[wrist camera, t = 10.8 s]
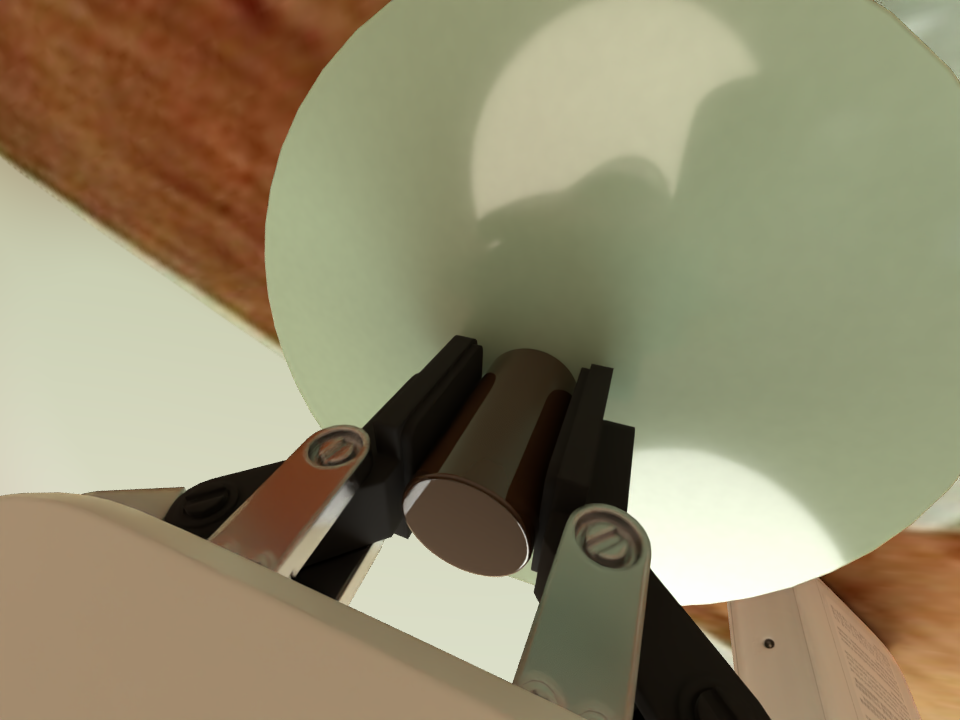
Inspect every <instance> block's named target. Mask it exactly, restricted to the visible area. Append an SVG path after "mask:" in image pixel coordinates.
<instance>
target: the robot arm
mask: <svg viewBox="0 0 960 720" xmlns="http://www.w3.org/2000/svg"><path fill="white" fill-rule="evenodd" d="M482 366H483V347H482V345H478V343H477V340H476V339H474V338H469V337H465V336H460V335H455V336H454V337H453V338H452V339H451V340H450V341H449V342H448V343H447V344H446V345H445V346H444V347H443V348H442V349H441V351H440V352H439V353H438V354H437V355H436V356H435V357H434V358H433V359H432V360H431V361H430V362H429V363H428V364H427V365H426V366H425V367H424V368H423V369H422V370H421V371H420V372H419V373H417V374H415V375H413V376H412V377H411V378H410V379H409V380H408V381H407V382H406V383H405V384H404V385H403V386H402V387H401V388H400V389H399V390H398V391H397V393H396V394H395V395H394V396H393V397H392V398H391V399H390V400H389V401H388V402H387V403H386V404H385V405H384V406H383V407H382V408H381V409H380V410H379V411H378V412H377V413H376V414H375V415H374V416H373V417H372V418H371V419H370V420H369V421H368V422H367V423H366V424H365V425H364V427H363V428H359V427H357V426H354V425H346V424H344V425H334V426H330V427H327V428H324V429H322V430H320V431H318V432H316V433H314V434H313V435H312V436H310V437H309V438H308V439H307V440H306V441H305V442H304V443H303V444H302V445H301V446H300V447H299V448H298V449H297V450H296V451H295V452H294V453H293V454H292V455H291V456H290V457H289V458H288V459H287V460H285V461H281V462H277V463H273V464H269V465H265V466H261V467H257V468H253V469H249V470H246V471H242V472H238V473H234V474H230V475H226V476H222V477H218V478H214V479H211V480H208V481H205V482H202V483H200V484H198V485H196V486H194V487H192V488H190V489H188V490H187V491H186V490H185V488H184V487H176V488H155V489H135V490H114V491H113V490H112V491H96V492H89V493H84V494H81V495H80V494H69V493H59V492H57V493H19V494H10V495H3V496H0V720H771V718H770V717H769V715H768V714H767V712H766V711H765V709H764V708H763V707H762V705H761V704H760V702H759V701H758V699H757V698H756V697H755V696H754V695H753V693H752V692H751V691H750V690H749V688H748V687H747V686H746V685H745V684H744V682H743V681H742V680H741V679H740V677H739V676H738V675H737V674H736V673H735V671H734V670H733V669H732V668H731V667H730V665H729V664H728V663H727V662H726V660H725V659H724V658H723V657H722V655H721V654H720V653H719V652H718V651H717V649H716V648H715V647H714V646H713V644H712V643H711V642H710V641H709V639H708V638H707V637H706V636H705V635H704V633H703V632H702V631H701V630H700V628H699V627H698V626H697V625H696V624H695V622H694V621H693V620H692V619H691V617H690V616H689V615H688V614H687V613H686V611H685V610H684V609H683V608H682V606H681V605H680V604H679V603H678V602H677V600H676V599H675V598H674V597H673V595H672V594H671V593H670V592H669V591H668V589H667V588H666V587H665V586H664V584H663V583H662V582H661V581H660V580H659V578H658V577H657V576H656V575H655V573H654V572H653V571H652V570H651V569H650V564H651V556H652V553H651V542H650V540H649V538H648V535H647V533H646V531H645V530H644V528H643V527H642V526H641V525H640V523H639V522H638V521H637V520H636V519H635V518H633V517H632V516H631V515H630V514H628V513H627V508H628V498H629V488H630V478H631V468H632V458H633V448H634V438H635V427H632V426H628V425H624V424H620V423H616V422H612V421H608V420H604V419H603V418H604V413H605V408H606V403H607V399H608V394H609V389H610V384H611V379H612V375H613V370H614V368H610V367H606V366H601V365H596V364H591V367H590V369H588V368H583V367H582V368H581V371H580V374H579V377H578V380H577V383H576V386H575V389H574V392H573V395H572V398H571V400H570V403H569V406H568V409H567V412H566V415H565V418H564V421H563V424H562V427H561V430H560V433H559V436H558V439H557V442H556V445H555V448H554V451H553V454H552V457H551V460H550V463H549V466H548V470H547V474H546V478H545V483H544V489H543V495H542V502H541V508H540V514H539V533H538V536H537V540H536V543H535V546H534V552H533V558H532V564H531V570H532V571H534V572H537V577H536V583H535V589H534V594H535V596H536V598H537V599H538V601H539V606H538V609H537V612H536V615H535V618H534V621H533V624H532V627H531V630H530V633H529V636H528V639H527V642H526V645H525V648H524V651H523V654H522V656H521V659H520V662H519V665H518V669H517V671H516V674H515V677H514V680H513V683H510V682H508V681H506V680H504V679H502V678H499V677H497V676H495V675H493V674H491V673H489V672H486V671H484V670H482V669H480V668H478V667H476V666H474V665H472V664H470V663H468V662H466V661H464V660H462V659H459V658H457V657H455V656H453V655H451V654H449V653H446V652H445V651H442V650H441V649H438V648H436V647H434V646H432V645H430V644H428V643H426V642H423V641H421V640H419V639H417V638H415V637H413V636H411V635H409V634H407V633H405V632H402V631H400V630H398V629H396V628H394V627H392V626H390V625H388V624H385V623H383V622H381V621H379V620H377V619H375V618H372V617H370V616H368V615H366V614H364V613H362V612H360V611H357V610H356V609H353V608H351V607H349V606H348V605H349V604H350V602H351V600H352V598H353V597H354V595H355V593H356V591H357V590H358V588H359V586H360V585H361V583H362V581H363V579H364V578H365V576H366V574H367V572H368V571H369V569H370V567H371V565H372V564H373V562H374V560H375V558H376V557H377V555H378V553H379V551H380V549H381V548H382V545H383V542H384V539H386V538H389V537H392V535H393V534H397V535H399V536H402V537H404V538H407V539H408V538H409V536H410V535H411V533H412V531H411V529H410V528H409V526H408V524H407V522H406V520H405V518H404V515H403V511H402V495H403V492H404V489H405V487H406V486H407V484H408V483H409V481H410V480H411V478H412V477H413V476H414V474H415V473H416V471H417V470H418V468H419V467H420V466H421V464H422V463H423V461H424V460H425V458H426V457H427V456H428V454H429V453H430V451H431V450H432V448H433V447H434V446H435V444H436V443H437V441H438V440H439V438H440V437H441V436H442V434H443V433H444V431H445V430H446V428H447V427H448V426H449V424H450V423H451V421H452V420H453V418H454V417H455V416H456V414H457V413H458V411H459V410H460V408H461V407H462V406H463V404H464V403H465V401H466V400H467V398H468V397H469V396H470V394H471V393H472V391H473V390H474V388H475V387H476V386H477V384H478V383H479V381H480V380H481V378H482Z"/></svg>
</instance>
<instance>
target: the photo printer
mask: <svg viewBox="0 0 960 720" xmlns="http://www.w3.org/2000/svg"><path fill="white" fill-rule="evenodd" d="M727 607H728V616H729V625H730V635H731V644H732V653H733V662H734V670H735V673H736V674H737V675H738V676H739V677H740V679H741V680H742V681H743V682H744V684H745V685H746V686H747V687H748V688H749V690H750V691H751V692H752V693H753V695H754V696H755V697H756V698H757V699H758V701H759V702H760V704H761V705H762V707H763V708H764V709H765V711H766V712H767V714H768V715H769V717H770V718H771V720H922V719H921V717H920V714H919V712H918V710H917V707H916V705H915V702H914V700H913V697H912V695H911V692H910V690H909V688H908V685H907V683H906V680H905V678H904V676H903V674H902V672H901V670H900V668H899V666H898V664H897V663H896V661H895V659H894V658H893V656H892V655H891V653H890V652H889V650H888V649H887V648H886V646H885V645H884V644H883V643H882V642H881V641H880V640H879V639H878V638H877V636H876V635H875V634H874V633H873V632H872V631H871V630H870V629H869V628H868V627H867V626H866V625H865V624H864V623H863V622H862V621H861V620H860V619H859V618H858V617H857V616H856V615H855V614H854V613H853V612H852V611H851V610H850V609H849V608H848V607H847V606H846V604H845V603H844V602H843V601H842V600H841V599H840V598H839V597H837V596H836V595H835V594H834V592H833V591H832V590H831V589H830V588H829V587H827V586H826V585H825V584H824V582H823V581H822V580H820V579H819V578H815V579H813V580H810V581H807V582H805V583H802V584H799V585H797V586H794V587H791V588H788V589H784V590H780V591H776V592H772V593H768V594H764V595H760V596H756V597H752V598H747V599H741V600H734V601H728V602H727Z"/></svg>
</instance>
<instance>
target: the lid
mask: <svg viewBox="0 0 960 720" xmlns="http://www.w3.org/2000/svg"><path fill="white" fill-rule="evenodd" d="M265 268H266V278H267V288H268V296H269V301H270V306H271V311H272V316H273V320H274V325H275V329H276V332H277V335H278V338H279V341H280V345H281V348H282V351H283V354H284V357H285V359H286V362H287V364H288V366H289V369H290V371H291V374H292V376H293V378H294V381H295V383H296V385H297V387H298V389H299V391H300V393H301V395H302V397H303V398H304V400H305V402H306V403H307V406H308V408H309V410H310V411H311V413H312V415H313V416H314V418H315V419H316V421H317V422H318V424H319V425H320V427H321V428H322V429H324V428H327V427H330V426H334V425H344V424H346V425H354V426H357V427H359V428H363V427H364V425H365V424H366V423H367V422H368V421H369V420H370V419H371V418H372V417H373V416H374V415H375V414H376V413H377V412H378V411H379V410H380V409H381V408H382V407H383V406H384V405H385V404H386V403H387V402H388V401H389V400H390V399H391V398H392V397H393V396H394V395H395V394H396V393H397V391H398V390H399V389H400V388H401V387H402V386H403V385H404V384H405V383H406V382H407V381H408V380H409V379H410V378H411V377H412V376H413V375H415V374H417V373H419V372H420V371H421V370H422V369H423V368H424V367H425V366H426V365H427V364H428V363H429V362H430V361H431V360H432V359H433V358H434V357H435V356H436V355H437V354H438V353H439V352H440V351H441V349H442V348H443V347H444V346H445V345H446V344H447V343H448V342H449V341H450V340H451V339H452V338H453V337H454V336H455V335H460V336H465V337H469V338H474V339H476V340H477V343H478V345H482V347H483V366H482V378H481V380H480V381H479V383H478V384H477V386H476V387H475V388H474V390H473V391H472V393H471V394H470V396H469V397H468V398H467V400H466V401H465V403H464V404H463V406H462V407H461V408H460V410H459V411H458V413H457V414H456V416H455V417H454V418H453V420H452V421H451V423H450V424H449V426H448V427H447V428H446V430H445V431H444V433H443V434H442V436H441V437H440V438H439V440H438V441H437V443H436V444H435V446H434V447H433V448H432V450H431V451H430V453H429V454H428V456H427V457H426V458H425V460H424V461H423V463H422V464H421V466H420V467H419V468H418V470H417V471H416V473H415V474H414V476H413V477H412V478H411V480H410V481H409V483H408V484H407V486H406V487H405V489H404V492H403V495H402V511H403V515H404V518H405V520H406V522H407V524H408V526H409V528H410V529H411V531H412V532H413V534H414V535H415V536H416V537H417V539H418V540H419V541H420V542H421V543H422V544H423V545H424V546H425V547H426V548H427V549H429V550H430V551H431V552H432V553H434V554H435V555H436V556H438V557H439V558H441V559H442V560H444V561H445V562H447V563H449V564H451V565H453V566H455V567H457V568H459V569H461V570H464V571H467V572H470V573H473V574H477V575H482V576H489V577H502V576H509V577H512V578H515V579H518V580H521V581H524V582H527V583H530V584H532V585H535V583H536V577H537V572H534V571H532V570H531V564H532V558H533V552H534V546H535V543H536V540H537V536H538V533H539V514H540V508H541V502H542V495H543V489H544V483H545V478H546V474H547V470H548V466H549V463H550V460H551V457H552V454H553V451H554V448H555V445H556V442H557V439H558V436H559V433H560V430H561V427H562V424H563V421H564V418H565V415H566V412H567V409H568V406H569V403H570V400H571V398H572V395H573V392H574V389H575V386H576V383H577V380H578V377H579V374H580V371H581V368H582V367H583V368H588V369H590V367H591V364H596V365H601V366H606V367H610V368H614V370H613V375H612V379H611V384H610V389H609V394H608V399H607V403H606V408H605V413H604V418H603V419H604V420H608V421H612V422H616V423H620V424H624V425H628V426H632V427H635V438H634V448H633V458H632V468H631V478H630V488H629V498H628V508H627V513H628V514H630V515H631V516H632V517H633V518H635V519H636V520H637V521H638V522H639V523H640V525H641V526H642V527H643V528H644V530H645V531H646V533H647V535H648V538H649V540H650V542H651V553H652V556H651V564H650V569H651V570H652V571H653V572H654V573H655V575H656V576H657V577H658V578H659V580H660V581H661V582H662V583H663V584H664V586H665V587H666V588H667V589H668V591H669V592H670V593H671V594H672V595H673V597H674V598H675V599H676V600H677V602H678V603H679V604H680V605H681V606H685V605H702V604H714V603H721V602H728V601H734V600H741V599H747V598H752V597H756V596H760V595H764V594H768V593H772V592H776V591H780V590H784V589H788V588H791V587H794V586H797V585H799V584H802V583H805V582H807V581H810V580H813V579H815V578H818V577H821V576H823V575H826V574H829V573H831V572H833V571H835V570H837V569H839V568H841V567H843V566H845V565H847V564H849V563H851V562H853V561H855V560H857V559H859V558H861V557H863V556H864V555H866V554H868V553H870V552H872V551H874V550H875V549H877V548H878V547H879V546H881V545H882V544H884V543H885V542H887V541H888V540H890V539H891V538H892V537H894V536H895V535H897V534H898V533H900V532H901V531H903V530H904V529H905V528H907V527H908V526H910V525H911V524H913V523H914V522H915V521H916V520H917V519H918V518H919V517H920V516H921V515H922V514H923V513H924V512H925V511H926V510H928V509H929V508H930V507H931V506H932V505H933V504H934V503H935V502H936V501H937V500H938V499H939V498H940V497H941V496H943V495H944V494H945V493H946V492H947V491H948V490H949V489H950V488H951V486H952V485H953V484H954V483H955V481H956V480H957V479H958V477H959V476H960V82H959V80H958V79H957V77H956V76H955V74H954V73H953V71H952V70H951V69H950V68H949V67H948V66H947V65H946V64H945V63H944V62H943V61H942V60H941V59H940V58H939V57H938V56H937V55H936V54H935V53H934V52H933V51H932V50H931V49H930V48H929V47H928V46H927V45H925V44H924V43H923V42H922V41H921V40H920V39H919V38H918V37H917V36H916V35H915V34H914V33H913V32H912V31H911V30H910V29H909V28H908V27H907V26H906V25H905V24H904V23H903V22H902V21H901V20H900V19H899V18H897V17H896V16H895V15H894V14H893V13H892V12H891V11H889V10H888V9H886V8H884V7H883V6H881V5H880V4H878V3H876V2H875V1H873V0H392V1H391V2H389V3H388V4H387V5H386V6H385V7H383V8H382V9H381V10H380V11H379V12H378V13H376V14H375V15H374V16H373V17H372V18H370V19H369V20H368V21H367V22H366V23H364V24H363V25H362V26H361V27H360V28H359V29H357V30H356V31H355V32H354V34H353V35H352V36H351V37H350V38H349V39H348V41H347V42H346V43H345V44H344V45H343V46H342V48H341V49H340V50H339V51H338V52H337V53H336V55H335V56H334V57H333V58H332V59H331V60H330V62H329V63H328V64H327V65H326V66H325V67H324V69H323V70H322V72H321V73H320V75H319V76H318V78H317V80H316V81H315V83H314V85H313V86H312V88H311V89H310V91H309V93H308V94H307V96H306V97H305V99H304V101H303V102H302V104H301V106H300V107H299V109H298V111H297V113H296V116H295V118H294V120H293V123H292V125H291V127H290V130H289V132H288V134H287V136H286V139H285V141H284V143H283V146H282V148H281V151H280V155H279V159H278V162H277V166H276V169H275V173H274V177H273V180H272V184H271V188H270V195H269V202H268V209H267V217H266V224H265Z"/></svg>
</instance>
